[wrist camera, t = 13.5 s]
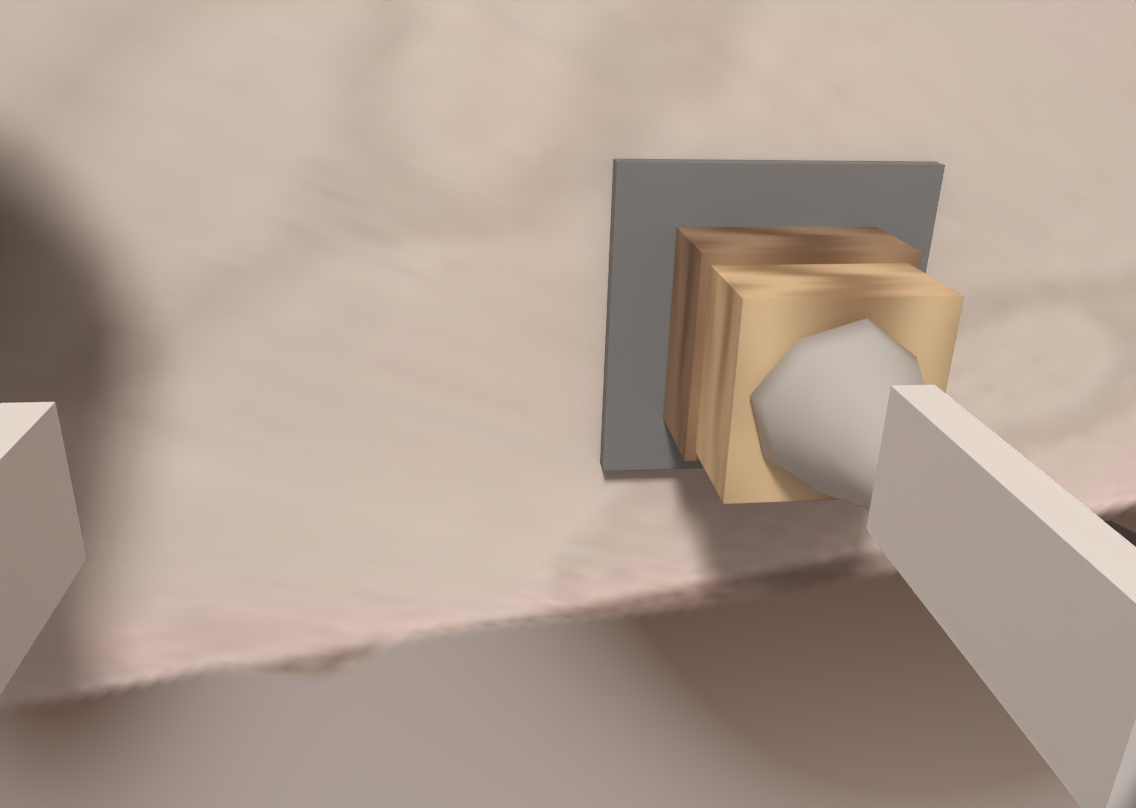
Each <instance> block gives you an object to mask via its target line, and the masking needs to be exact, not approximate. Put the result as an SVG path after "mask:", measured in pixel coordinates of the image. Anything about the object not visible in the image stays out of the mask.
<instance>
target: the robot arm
mask: <svg viewBox="0 0 1136 808" xmlns="http://www.w3.org/2000/svg"><path fill="white" fill-rule="evenodd" d="M866 530H867V532H868V533H869V534H870V535H871V537H872V538H873V539H874V541H875V542H876V543H877V545H878V546H879V547H880V548H881V550H882V551H883V552H884V554H885V555H886V556H887V557H888V559H889V560H890V561H891V563H892V564H893V565H894V566H895V568H896V569H897V570H898V572H899V573H900V574H901V575H902V577H903V578H904V579H905V580H906V582H907V583H908V584H909V586H910V587H911V588H912V590H913V591H914V592H915V593H916V595H917V596H918V597H919V598H920V600H921V601H922V602H923V604H924V605H925V606H926V608H927V609H928V610H929V611H930V613H931V614H932V615H933V617H934V618H935V619H936V620H937V622H938V623H939V624H940V626H941V627H942V628H943V630H944V631H945V632H946V633H947V635H948V636H949V637H950V638H951V640H952V641H953V642H954V644H955V645H956V646H957V648H958V649H959V650H960V651H961V653H962V654H963V655H964V656H965V658H966V659H967V660H968V662H969V663H970V664H971V666H972V667H973V668H974V669H975V670H976V672H977V673H978V674H979V676H980V677H981V678H982V680H983V681H984V682H985V684H986V685H987V686H988V687H989V689H990V690H991V691H992V693H993V694H994V695H995V696H996V698H997V699H998V700H999V702H1000V703H1001V704H1002V705H1003V707H1004V708H1005V709H1006V711H1007V712H1008V713H1009V714H1010V716H1011V717H1012V718H1013V720H1014V721H1015V722H1016V723H1017V725H1018V726H1019V727H1020V729H1021V730H1022V731H1023V733H1024V734H1025V735H1026V736H1027V738H1028V739H1029V740H1030V741H1031V743H1032V744H1033V745H1034V747H1035V748H1036V749H1037V751H1038V752H1039V753H1040V754H1041V756H1042V757H1043V758H1044V759H1045V761H1046V762H1047V763H1048V765H1049V766H1050V767H1051V769H1052V770H1053V771H1054V772H1055V774H1056V775H1057V776H1058V778H1059V779H1060V780H1061V781H1062V783H1063V784H1064V785H1065V787H1066V788H1067V789H1068V790H1069V792H1070V793H1071V794H1072V796H1073V797H1074V798H1075V799H1076V801H1077V802H1078V803H1079V804H1080V806H1081V807H1082V808H1136V533H1134V532H1132V531H1130V530H1128V529H1126V528H1124V527H1122V526H1120V525H1118V524H1116V523H1114V522H1112V521H1103V520H1102V519H1100V518H1099V517H1098V516H1097V515H1095V514H1094V513H1093V512H1092V511H1091V510H1089V509H1088V508H1087V507H1086V506H1084V505H1083V504H1082V503H1081V502H1079V501H1078V500H1077V499H1076V498H1074V497H1073V496H1072V495H1071V494H1069V493H1068V492H1067V491H1066V490H1065V489H1063V488H1062V487H1061V486H1060V485H1058V484H1057V483H1056V482H1055V481H1053V480H1052V479H1051V478H1050V477H1048V476H1047V475H1046V474H1045V473H1043V472H1042V471H1041V470H1040V469H1039V468H1037V467H1036V466H1035V465H1034V464H1032V463H1031V462H1030V461H1029V460H1027V459H1026V458H1025V457H1024V456H1022V455H1021V454H1020V453H1019V452H1017V451H1016V450H1015V449H1014V448H1013V447H1011V446H1010V445H1009V444H1008V443H1006V442H1005V441H1004V440H1003V439H1001V438H1000V437H999V436H998V435H996V434H995V433H994V432H993V431H991V430H990V429H989V428H988V427H987V426H985V425H984V424H983V423H982V422H980V421H979V420H978V419H977V418H975V417H974V416H973V415H972V414H970V413H969V412H968V411H967V410H965V409H964V408H963V407H962V406H960V405H959V404H958V403H957V402H956V401H954V400H953V399H952V398H951V397H949V396H948V395H947V394H946V393H944V392H943V391H942V390H941V389H939V388H938V387H937V386H936V385H894V386H891V388H890V394H889V399H888V405H887V411H886V417H885V423H884V429H883V434H882V440H881V446H880V452H879V458H878V463H877V469H876V475H875V481H874V487H873V493H872V498H871V504H870V510H869V516H868V522H867V527H866ZM86 560H87V556H86V551H85V546H84V541H83V536H82V531H81V526H80V521H79V516H78V511H77V506H76V502H75V497H74V492H73V487H72V482H71V477H70V472H69V467H68V462H67V457H66V452H65V447H64V442H63V437H62V432H61V427H60V422H59V417H58V412H57V407H56V402H23V403H1V404H0V695H1V693H2V692H3V690H4V689H5V687H6V686H7V684H8V682H9V681H10V679H11V678H12V676H13V675H14V673H15V671H16V670H17V668H18V667H19V665H20V664H21V662H22V660H23V659H24V657H25V656H26V654H27V653H28V651H29V649H30V648H31V646H32V645H33V643H34V642H35V640H36V638H37V637H38V635H39V634H40V632H41V631H42V629H43V627H44V626H45V624H46V623H47V621H48V620H49V618H50V617H51V615H52V613H53V612H54V610H55V609H56V607H57V606H58V604H59V602H60V601H61V599H62V598H63V596H64V595H65V593H66V591H67V590H68V588H69V587H70V585H71V584H72V582H73V580H74V579H75V577H76V576H77V574H78V573H79V571H80V569H81V568H82V566H83V565H84V563H85V562H86Z"/></svg>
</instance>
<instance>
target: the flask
mask: <svg viewBox="0 0 1136 808" xmlns="http://www.w3.org/2000/svg"><path fill="white" fill-rule="evenodd" d="M894 385H924V383H923V379H922V375H921V371H920V367H919V364H918V361H917V357H916V356H915V355H913V354H912V353H911V352H910V351H908V350H907V349H906V348H904V347H903V346H902V345H901V344H899V343H898V342H897V341H896V340H894V339H893V338H892V337H890V336H889V335H888V334H887V333H885V332H884V331H883V330H882V329H880V328H879V327H878V326H877V325H875V324H874V323H873V322H871V321H870V320H869V319H868V318H866V319H862V320H859V321H856V322H853V323H850V324H846V325H843V326H840V327H837V328H834V329H830V330H827V331H824V332H821V333H818V334H814V335H811V336H808V337H805V338H802V339H798V340H797V341H796V342H795V343H794V344H793V345H792V347H791V348H790V349H789V350H788V351H787V353H786V354H785V355H784V356H783V357H782V358H781V360H780V361H779V362H778V363H777V364H776V365H775V367H774V368H773V369H772V370H771V371H770V373H769V374H768V375H767V376H766V377H765V378H764V380H763V381H762V382H761V383H760V384H759V386H758V387H757V388H756V389H755V390H754V391H753V393H752V394H751V395H750V397H751V402H752V406H753V410H754V415H755V419H756V424H757V428H758V433H759V437H760V441H761V446H762V450H763V455H764V457H766V458H767V459H769V460H770V461H772V462H773V463H775V464H776V465H778V466H779V467H781V468H782V469H783V470H785V471H786V472H788V473H789V474H791V475H792V476H794V477H795V478H797V479H798V480H799V481H801V482H802V483H804V484H805V485H807V486H808V487H810V488H811V489H813V490H815V491H817V492H820V493H823V494H826V495H829V496H832V497H835V498H839V499H842V500H845V501H848V502H852V503H854V504H857V505H859V506H862V507H864V508H867V509H870V504H871V498H872V493H873V487H874V481H875V475H876V469H877V463H878V458H879V452H880V446H881V440H882V434H883V429H884V423H885V417H886V411H887V405H888V399H889V394H890V388H891V386H894Z"/></svg>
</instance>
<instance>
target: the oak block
mask: <svg viewBox="0 0 1136 808" xmlns="http://www.w3.org/2000/svg"><path fill="white" fill-rule="evenodd" d="M963 298H964V296H963V295H961V294H960V293H958V292H956V291H955V290H953V289H951V288H950V287H948V286H946V285H944V284H943V283H941V282H939V281H938V280H936V279H934V278H933V277H931V276H929V275H928V274H926V273H924V272H922V271H921V270H919V269H917V268H916V267H914V266H912V265H911V264H909V263H886V264H781V265H711V267H710V279H709V291H708V303H707V316H706V328H705V340H704V352H703V365H702V377H701V389H700V401H699V413H698V426H697V438H696V450H695V452H696V454H697V456H698V458H699V460H700V461H701V463H702V465H703V467H704V469H705V471H706V473H707V475H708V476H709V478H710V480H711V482H712V484H713V486H714V488H715V489H716V491H717V493H718V495H719V497H720V499H721V501H722V502H723V504H732V503H758V502H783V501H809V500H835V499H839V498H835V497H832V496H829V495H826V494H823V493H820V492H817V491H815V490H813V489H811V488H810V487H808V486H807V485H805V484H804V483H802V482H801V481H799V480H798V479H797V478H795V477H794V476H792V475H791V474H789V473H788V472H786V471H785V470H783V469H782V468H781V467H779V466H778V465H776V464H775V463H773V462H772V461H770V460H769V459H767V458H766V457H764V455H763V450H762V446H761V441H760V437H759V433H758V428H757V424H756V419H755V415H754V410H753V406H752V402H751V397H750V395H751V394H752V393H753V391H754V390H755V389H756V388H757V387H758V386H759V384H760V383H761V382H762V381H763V380H764V378H765V377H766V376H767V375H768V374H769V373H770V371H771V370H772V369H773V368H774V367H775V365H776V364H777V363H778V362H779V361H780V360H781V358H782V357H783V356H784V355H785V354H786V353H787V351H788V350H789V349H790V348H791V347H792V345H793V344H794V343H795V342H796V341H797V340H798V339H802V338H805V337H808V336H811V335H814V334H818V333H821V332H824V331H827V330H830V329H834V328H837V327H840V326H843V325H846V324H850V323H853V322H856V321H859V320H862V319H866V318H868V319H869V320H870V321H871V322H873V323H874V324H875V325H877V326H878V327H879V328H880V329H882V330H883V331H884V332H885V333H887V334H888V335H889V336H890V337H892V338H893V339H894V340H896V341H897V342H898V343H899V344H901V345H902V346H903V347H904V348H906V349H907V350H908V351H910V352H911V353H912V354H913V355H915V356H916V357H917V361H918V364H919V367H920V371H921V375H922V379H923V383H924V385H936V386H937V387H938V388H939V389H941V390H942V391H943V392H944V393H945V392H946V387H947V382H948V377H949V371H950V366H951V361H952V356H953V350H954V345H955V340H956V335H957V330H958V324H959V319H960V314H961V309H962V303H963Z"/></svg>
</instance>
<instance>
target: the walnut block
mask: <svg viewBox="0 0 1136 808" xmlns="http://www.w3.org/2000/svg"><path fill="white" fill-rule="evenodd" d="M921 258H922V252H921V251H920V250H918V249H916V248H914V247H912V246H910V245H909V244H907V243H905V242H903V241H901V240H900V239H898V238H896V237H894V236H892V235H890V234H889V233H887V232H885V231H883V230H881V229H879V228H878V227H676V242H675V256H674V270H673V284H672V298H671V312H670V327H669V341H668V355H667V369H666V383H665V397H664V412H663V419H664V421H665V423H666V425H667V427H668V429H669V431H670V433H671V435H672V437H673V439H674V440H675V442H676V444H677V446H678V448H679V450H680V452H681V454H682V456H683V458H684V460H685V461H698V460H699V458H698V456H697V454H696V452H695V450H696V438H697V426H698V413H699V401H700V389H701V377H702V365H703V352H704V340H705V328H706V316H707V303H708V291H709V279H710V267H711V265H781V264H886V263H909V264H911V265H912V266H914V267H916V268H917V269H920V264H921Z"/></svg>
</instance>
